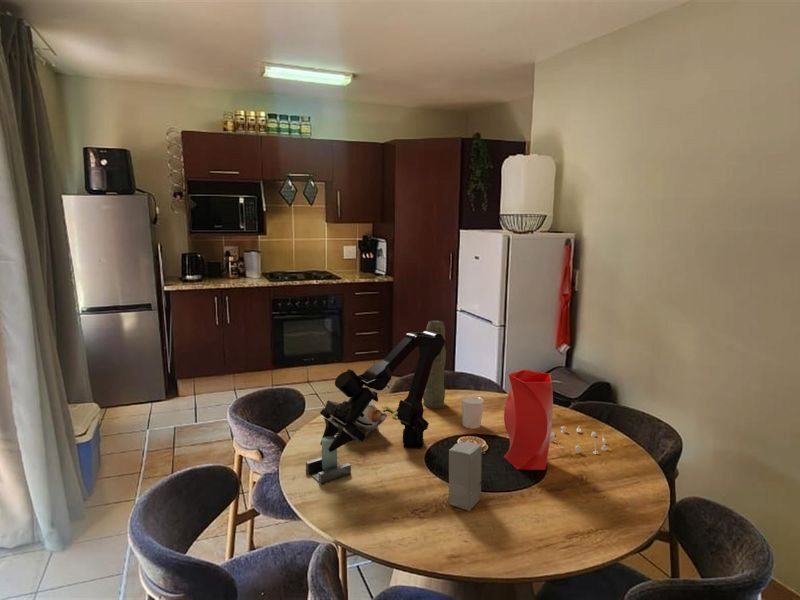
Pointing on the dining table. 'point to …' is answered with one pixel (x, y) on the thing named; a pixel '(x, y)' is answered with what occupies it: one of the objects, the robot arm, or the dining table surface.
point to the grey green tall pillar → (436, 372)
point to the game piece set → (578, 445)
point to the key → (391, 411)
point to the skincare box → (465, 474)
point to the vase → (529, 419)
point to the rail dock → (327, 471)
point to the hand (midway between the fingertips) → (325, 448)
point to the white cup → (472, 411)
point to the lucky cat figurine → (370, 419)
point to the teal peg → (328, 453)
